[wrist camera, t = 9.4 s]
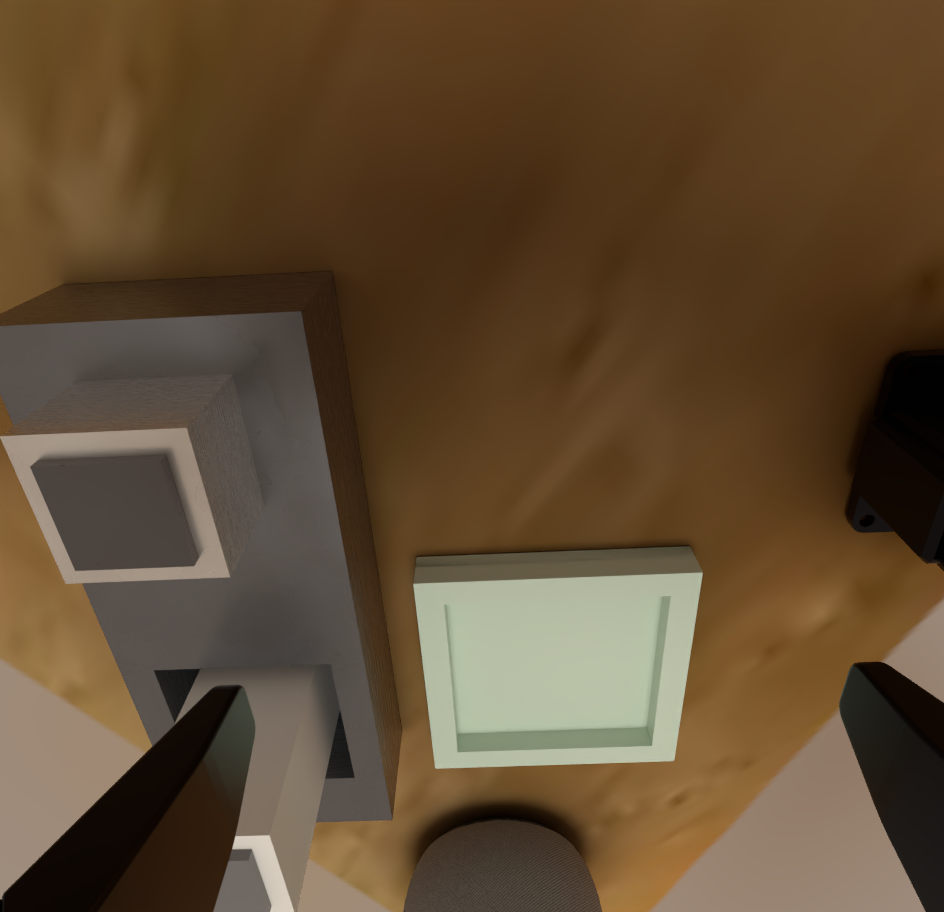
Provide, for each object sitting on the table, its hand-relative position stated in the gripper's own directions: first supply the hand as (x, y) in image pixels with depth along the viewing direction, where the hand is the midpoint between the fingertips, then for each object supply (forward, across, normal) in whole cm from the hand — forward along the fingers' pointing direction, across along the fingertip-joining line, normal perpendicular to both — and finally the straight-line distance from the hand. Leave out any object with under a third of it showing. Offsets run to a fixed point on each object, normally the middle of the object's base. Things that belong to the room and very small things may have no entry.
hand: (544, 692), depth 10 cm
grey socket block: (+12, +9, +6) cm, 17 cm away
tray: (+12, -2, +12) cm, 17 cm away
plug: (+12, +9, +11) cm, 18 cm away
